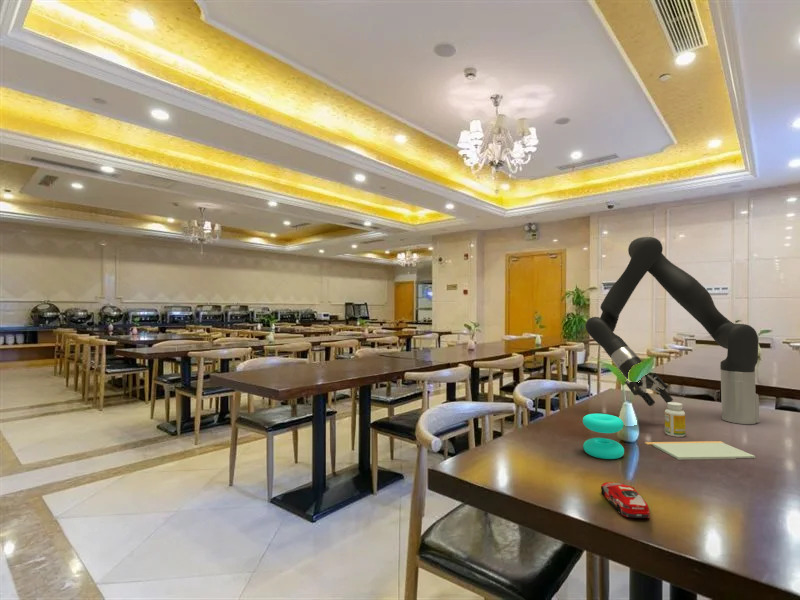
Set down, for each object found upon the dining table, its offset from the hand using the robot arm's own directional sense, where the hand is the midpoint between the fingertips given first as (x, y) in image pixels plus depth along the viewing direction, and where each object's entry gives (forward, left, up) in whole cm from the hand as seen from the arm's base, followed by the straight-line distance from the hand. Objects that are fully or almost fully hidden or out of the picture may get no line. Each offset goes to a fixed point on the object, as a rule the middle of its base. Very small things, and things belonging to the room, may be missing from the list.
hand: (661, 403), depth 134 cm
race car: (+38, +49, -9) cm, 63 cm away
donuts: (+28, +20, -9) cm, 36 cm away
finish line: (+1, +12, -9) cm, 15 cm away
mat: (+1, +19, -9) cm, 21 cm away
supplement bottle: (-2, +4, -9) cm, 10 cm away
